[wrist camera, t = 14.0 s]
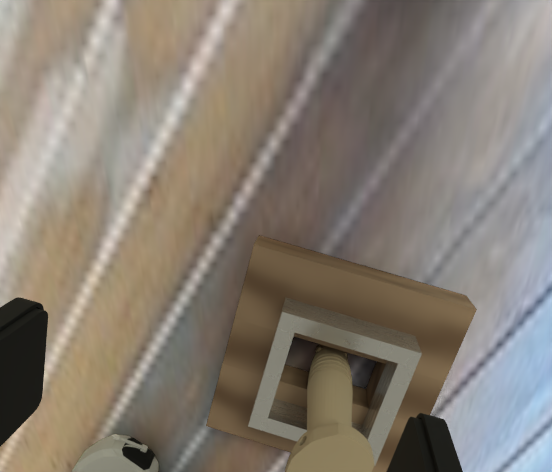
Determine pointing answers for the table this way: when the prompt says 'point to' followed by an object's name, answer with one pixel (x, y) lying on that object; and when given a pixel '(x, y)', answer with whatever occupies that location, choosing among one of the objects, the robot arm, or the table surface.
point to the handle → (330, 420)
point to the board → (341, 299)
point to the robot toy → (117, 456)
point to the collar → (348, 334)
